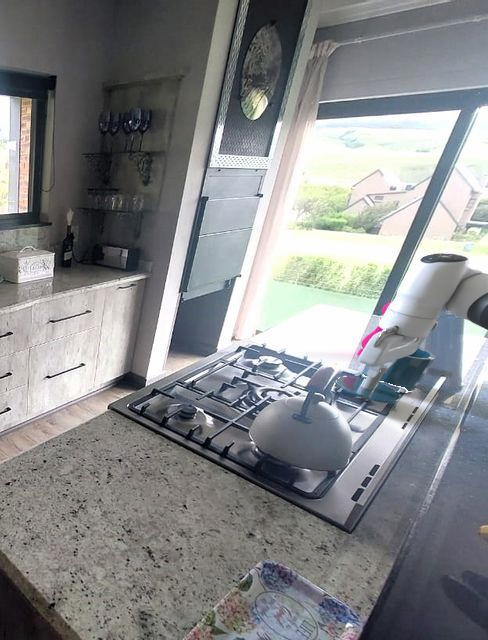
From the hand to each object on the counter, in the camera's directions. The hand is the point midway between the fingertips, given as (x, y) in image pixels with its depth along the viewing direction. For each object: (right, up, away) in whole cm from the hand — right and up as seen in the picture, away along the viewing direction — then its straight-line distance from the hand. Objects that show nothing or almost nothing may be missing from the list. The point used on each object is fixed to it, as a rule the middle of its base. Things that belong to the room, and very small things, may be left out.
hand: (375, 374), depth 103 cm
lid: (0, -4, +2) cm, 5 cm away
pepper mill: (+24, +5, +27) cm, 36 cm away
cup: (+14, -2, +12) cm, 19 cm away
